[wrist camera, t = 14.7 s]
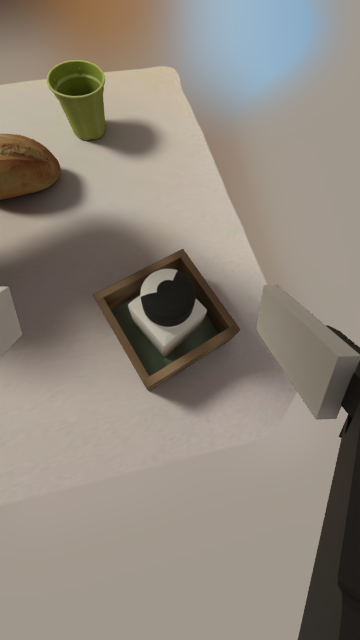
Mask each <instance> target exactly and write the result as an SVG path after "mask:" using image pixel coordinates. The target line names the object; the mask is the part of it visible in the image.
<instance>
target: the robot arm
mask: <svg viewBox="0 0 360 640" xmlns="http://www.w3.org/2000/svg"><path fill="white" fill-rule="evenodd" d="M256 330H257V332H258V333H259V335H260V336H261V338H262V339H263V341H264V342H265V344H266V345H267V347H268V348H269V350H270V351H271V353H272V354H273V356H274V357H275V359H276V360H277V362H278V363H279V365H280V366H281V368H282V369H283V371H284V372H285V374H286V375H287V377H288V378H289V380H290V381H291V383H292V384H293V386H294V387H295V389H296V390H297V392H298V393H299V395H300V396H301V398H302V399H303V401H304V402H305V404H306V405H307V407H308V408H309V410H310V411H311V413H312V414H313V415H314V417H315V419H336V418H337V415H338V413H339V410H340V408H341V406H342V407H343V408H344V409H345V411H346V412H347V413H348V416H347V419H346V421H345V424H344V426H343V428H342V431H341V433H340V435H339V437H341V438H342V439H341V444H340V448H339V453H338V457H337V462H336V467H335V471H334V476H333V480H332V485H331V490H330V494H329V499H328V503H327V508H326V513H325V518H324V522H323V527H322V531H321V536H320V541H319V545H318V549H317V554H316V559H315V564H314V568H313V573H312V577H311V582H310V586H309V591H308V596H307V601H306V605H305V609H304V614H303V619H302V624H301V628H300V632H299V637H298V640H360V347H358V346H357V345H355V344H354V342H352V341H351V340H350V339H348V338H347V337H346V336H345V335H343V334H342V333H341V332H340V331H338V330H336V329H334V328H332V327H330V326H325V325H324V324H323V323H322V322H321V321H320V320H318V319H317V318H316V317H315V316H314V315H313V314H311V313H310V312H309V311H308V310H307V309H305V308H304V307H303V306H302V305H301V304H300V303H298V302H297V301H296V300H295V299H294V298H292V297H291V296H290V295H289V294H288V293H287V292H285V291H284V290H283V289H282V288H281V287H280V286H278V285H264V287H263V293H262V299H261V305H260V310H259V316H258V322H257V328H256ZM21 335H22V331H21V328H20V324H19V321H18V317H17V314H16V310H15V307H14V304H13V300H12V297H11V293H10V290H9V287H0V358H1V357H2V356H3V355H4V354H5V353H6V352H7V351H8V350H9V348H10V347H11V346H12V345H13V344H14V343H15V342H16V341H17V340H18V338H19V337H20V336H21Z"/></svg>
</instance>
